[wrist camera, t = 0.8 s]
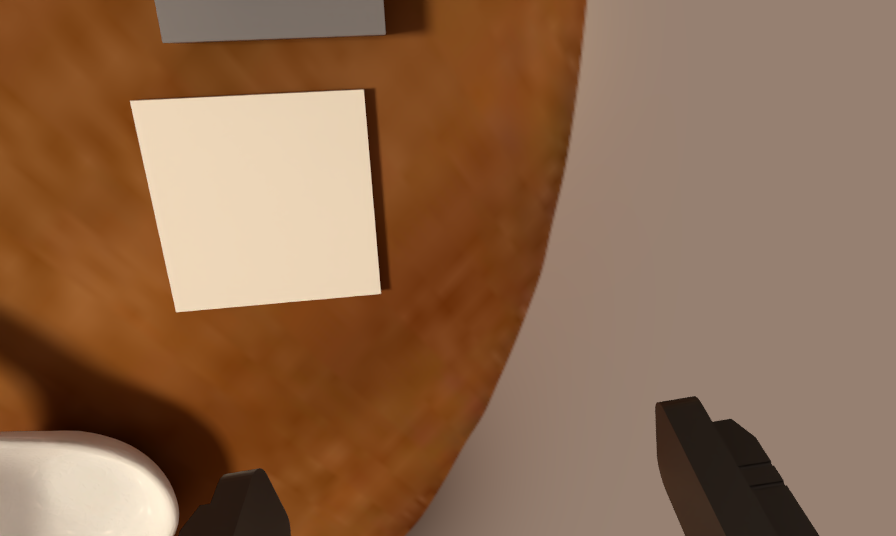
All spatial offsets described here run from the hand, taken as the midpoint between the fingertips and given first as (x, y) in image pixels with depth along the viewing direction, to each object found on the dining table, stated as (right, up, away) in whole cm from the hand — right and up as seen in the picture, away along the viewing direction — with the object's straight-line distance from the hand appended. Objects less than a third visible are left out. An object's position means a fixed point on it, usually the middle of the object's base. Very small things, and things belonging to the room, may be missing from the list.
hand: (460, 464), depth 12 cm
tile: (-11, +8, +22) cm, 26 cm away
